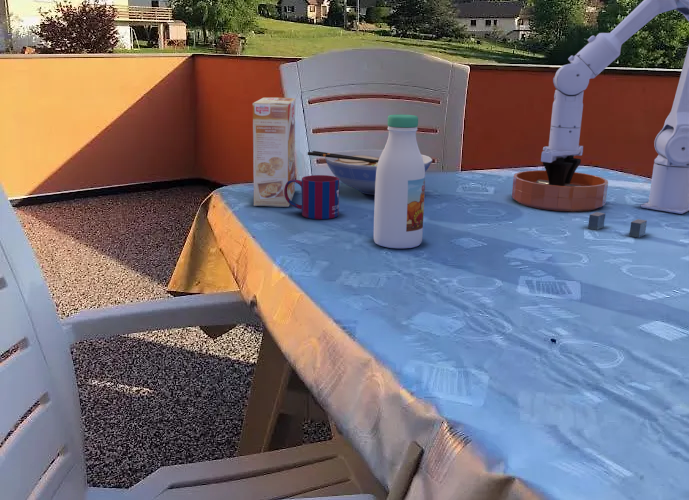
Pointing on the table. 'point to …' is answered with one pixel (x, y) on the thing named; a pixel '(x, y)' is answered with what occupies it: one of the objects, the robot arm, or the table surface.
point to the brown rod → (548, 183)
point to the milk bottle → (400, 186)
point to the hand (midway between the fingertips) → (558, 194)
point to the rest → (635, 230)
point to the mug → (317, 196)
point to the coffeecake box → (273, 150)
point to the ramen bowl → (357, 167)
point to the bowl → (560, 192)
